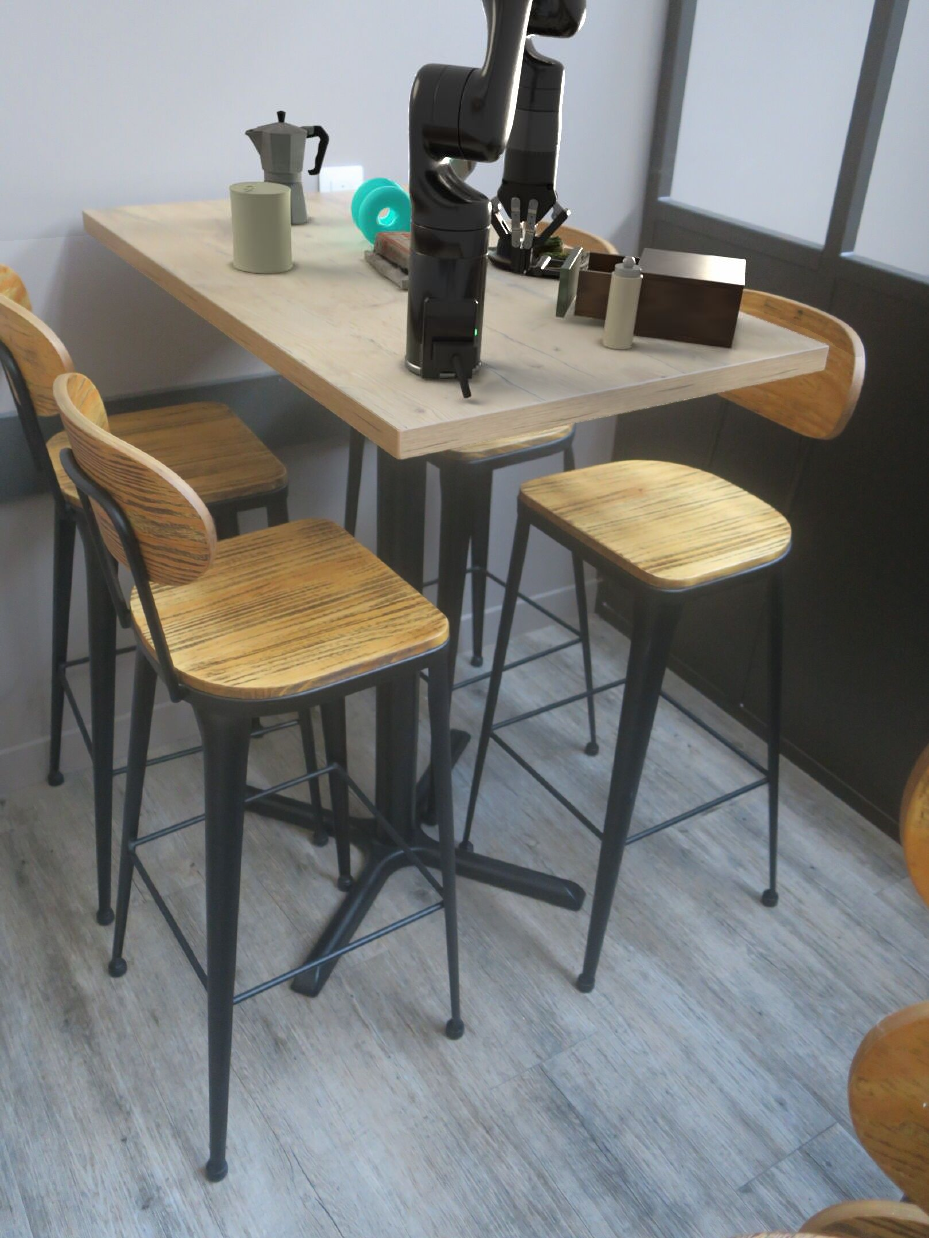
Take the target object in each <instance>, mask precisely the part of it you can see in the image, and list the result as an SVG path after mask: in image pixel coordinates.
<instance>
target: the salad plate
mask: <svg viewBox="0 0 929 1238" xmlns="http://www.w3.org/2000/svg"><path fill="white" fill-rule="evenodd" d="M523 243H524V240H523V241H522V245H523ZM572 250H573V248H568V247H565V245H564V241H563V237H560V236H559V235H556V236H554V233H553V234H552V236H551V237H550V238H549V239H548V240H547V241H546V242H545V243H544V244H543V245H542V246H535V247H533V251H532V261H531V267H530V269H529V270H528V271H526V273H525V274H524V275H523V276H529V277H535V278H542V279H560V276H556V275H549V274H543V273H542V275H541V276H535V275H534V273H533V269H534V268H535V266H536V265H537V263H538V262H539V261H540V259H541V258H542V257H543V256H544V255H547V256H549V257H550V259H555V260H563V261H566V259H567V258H568V256H569V255H570V253H571V252H572ZM511 252H512V247H511V245H510V244H509V243H507V242H506V241H502V240H501V239H500V238H499V237H498V240H497V243H496V246H489V250H488V261H489V262H490V264H491V265H492V266H493V267H494V268H496V269H499V270H501V271H505V272H510V273H514V269H511V266H510V264H511ZM589 254H590V251H587V250H584V249H582V255H581V263H580V269H583V270H585V269H586V268H588V262H589ZM561 267H562V265H554V264H550V263H549V265H548V266H547V268H546V269H550V270H558V271H561Z"/></svg>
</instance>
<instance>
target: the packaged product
mask: <svg viewBox="0 0 929 1238" xmlns="http://www.w3.org/2000/svg"><path fill="white" fill-rule="evenodd" d="M409 253H410V233H409V232H406V231H396V232H394V231H392V232H379V233H376V237H375V243H374V245H373V250H369V249H366V250H364V251H363V255H364V256H363V258H364V260H365V261H366V262H367V263H369V264H370V265H371V266H372V267H373V268H375V270H376V271H377V272H378V273H379V274H380V275H381V276H383V277H386V278H387V279H388V280H390V281H391V282H392V283H394V284H395V285H396V286H398V287H399V288H400V289H401V290H408V280H409Z"/></svg>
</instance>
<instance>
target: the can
mask: <svg viewBox="0 0 929 1238" xmlns="http://www.w3.org/2000/svg"><path fill="white" fill-rule="evenodd" d="M228 189H229V197H230V213H231V229H232V230H231V232H232V249H233V252H232V253H233V260H232V261H233V262H232V266H233V267H234V268H235V269H236V270H238V271H240V272H241V271H242V272H245V273H251V274H252V273H253V274H279V273H284V272H287V271H290V270H291V269H293V267H294V263H293V256H292V255H293V254H292V225H291V212H290V192H291V189H290V188H289V187H288V186H285V185H282V184H277V183H270V182H264V181H242V182H237V183H233V184H231V185H229V187H228Z"/></svg>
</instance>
